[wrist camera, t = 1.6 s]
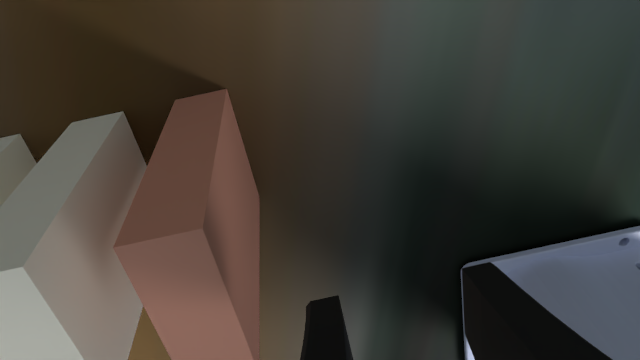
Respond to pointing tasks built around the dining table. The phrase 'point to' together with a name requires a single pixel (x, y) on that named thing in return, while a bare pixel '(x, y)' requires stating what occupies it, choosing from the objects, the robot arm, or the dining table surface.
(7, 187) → the domino
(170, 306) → the domino
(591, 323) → the robot arm
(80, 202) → the domino
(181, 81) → the dining table surface
